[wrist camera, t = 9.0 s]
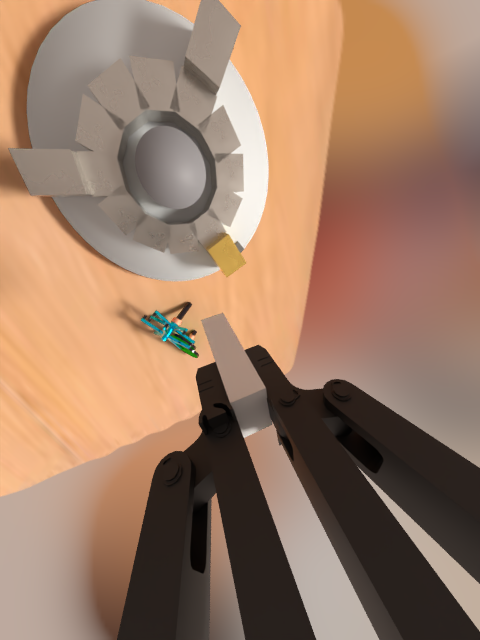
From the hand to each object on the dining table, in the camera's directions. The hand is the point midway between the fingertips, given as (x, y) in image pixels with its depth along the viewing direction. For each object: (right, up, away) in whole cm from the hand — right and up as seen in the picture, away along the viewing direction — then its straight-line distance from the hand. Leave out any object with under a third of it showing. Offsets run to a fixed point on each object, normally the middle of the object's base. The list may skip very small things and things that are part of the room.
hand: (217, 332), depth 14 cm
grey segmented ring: (-5, +15, +10) cm, 19 cm away
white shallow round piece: (-7, +18, +10) cm, 21 cm away
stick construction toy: (-8, 0, +20) cm, 22 cm away
